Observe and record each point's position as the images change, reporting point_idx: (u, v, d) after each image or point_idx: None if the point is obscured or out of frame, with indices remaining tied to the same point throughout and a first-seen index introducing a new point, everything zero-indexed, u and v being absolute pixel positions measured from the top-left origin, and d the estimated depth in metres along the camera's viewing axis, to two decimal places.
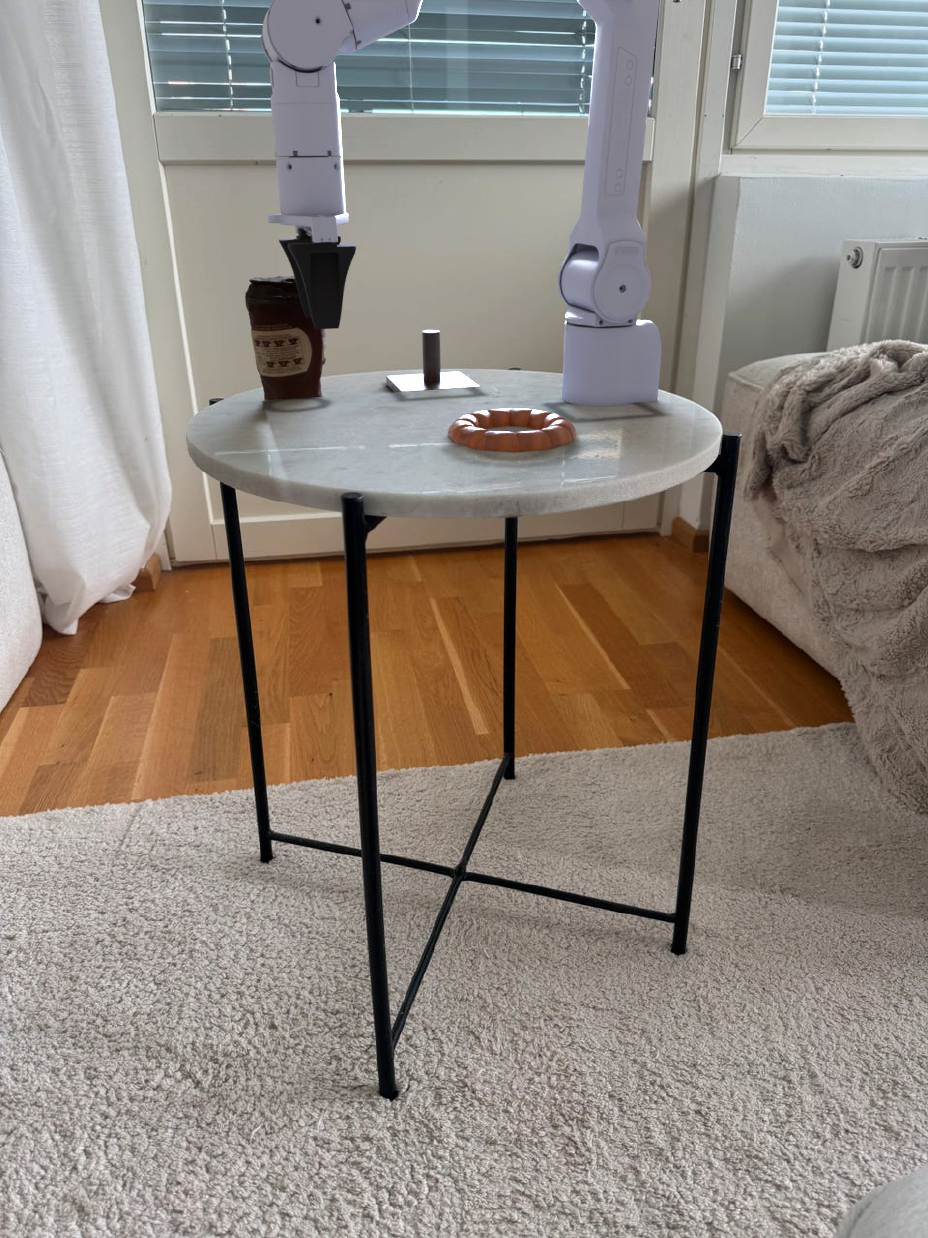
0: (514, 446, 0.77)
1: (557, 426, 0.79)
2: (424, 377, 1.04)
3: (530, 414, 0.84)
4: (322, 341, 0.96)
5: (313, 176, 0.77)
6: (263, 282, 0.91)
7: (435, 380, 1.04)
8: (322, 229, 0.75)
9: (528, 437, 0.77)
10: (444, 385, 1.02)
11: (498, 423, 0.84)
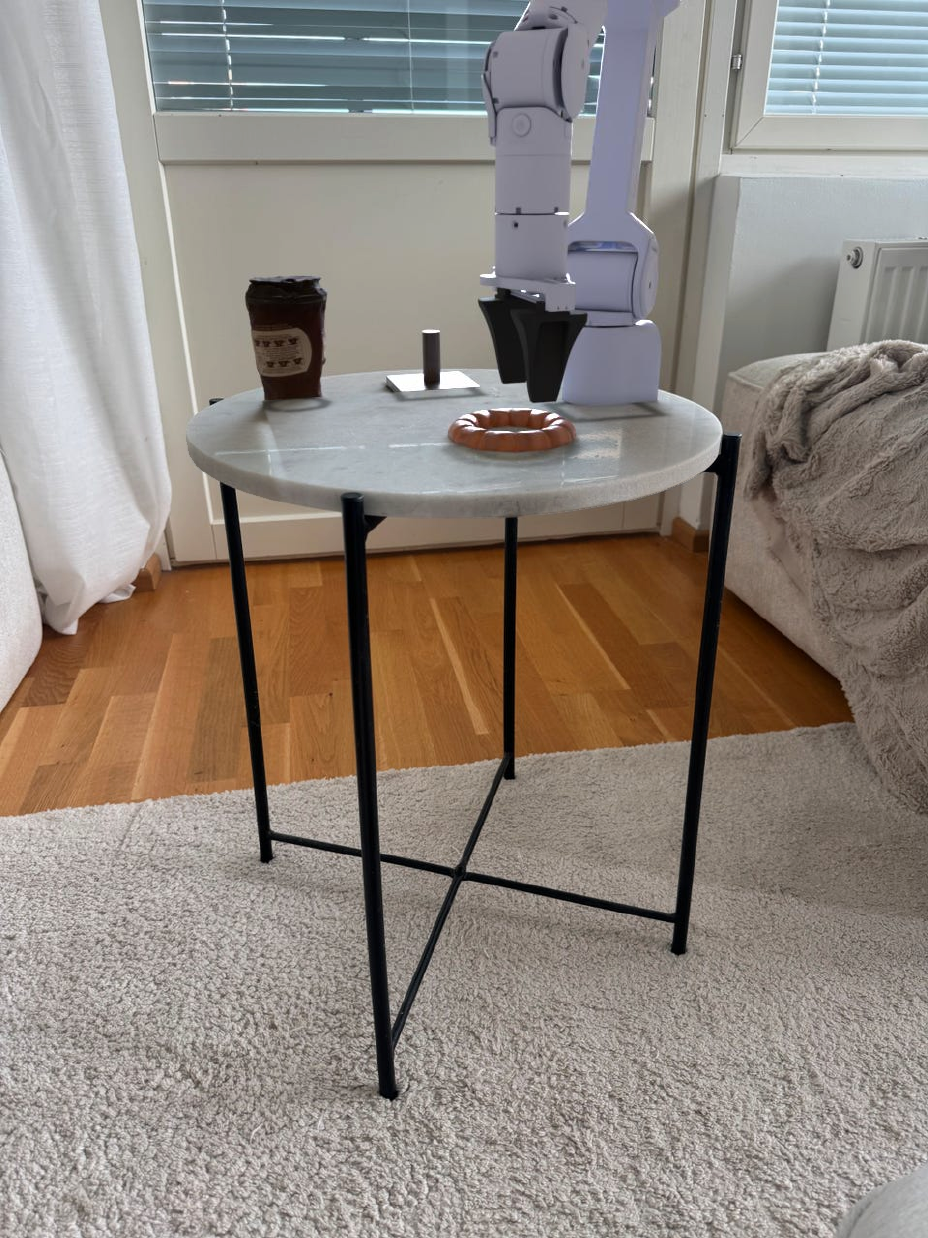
0: (514, 446, 0.77)
1: (557, 426, 0.79)
2: (424, 377, 1.04)
3: (530, 414, 0.84)
4: (322, 341, 0.96)
5: (542, 235, 0.68)
6: (263, 282, 0.91)
7: (435, 380, 1.04)
8: (560, 297, 0.66)
9: (528, 437, 0.77)
10: (444, 385, 1.02)
11: (498, 423, 0.84)
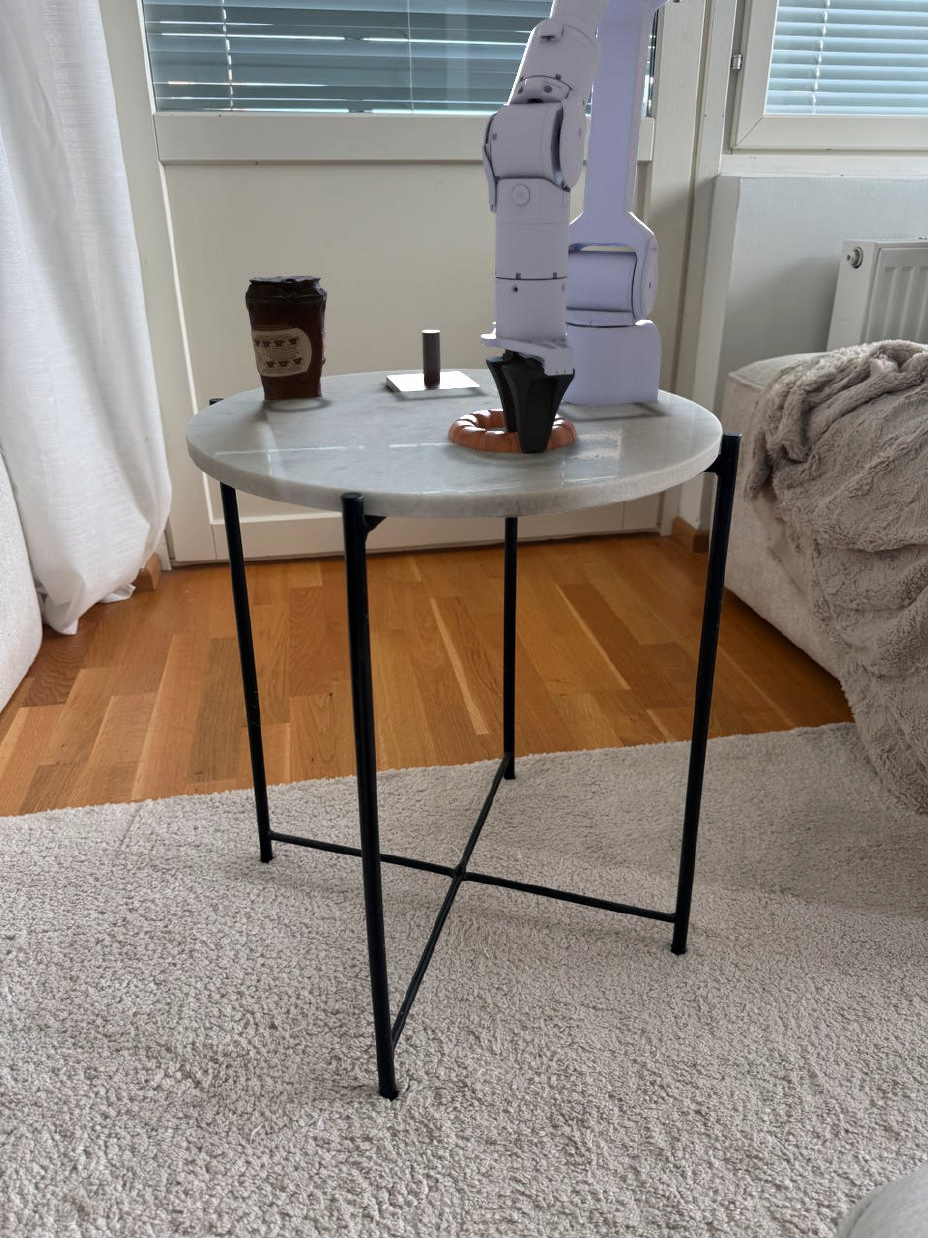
0: (514, 446, 0.77)
1: (557, 426, 0.79)
2: (424, 377, 1.04)
3: None
4: (322, 341, 0.96)
5: (541, 299, 0.70)
6: (263, 282, 0.91)
7: (435, 380, 1.04)
8: (558, 361, 0.68)
9: None
10: (444, 385, 1.02)
11: (498, 423, 0.84)
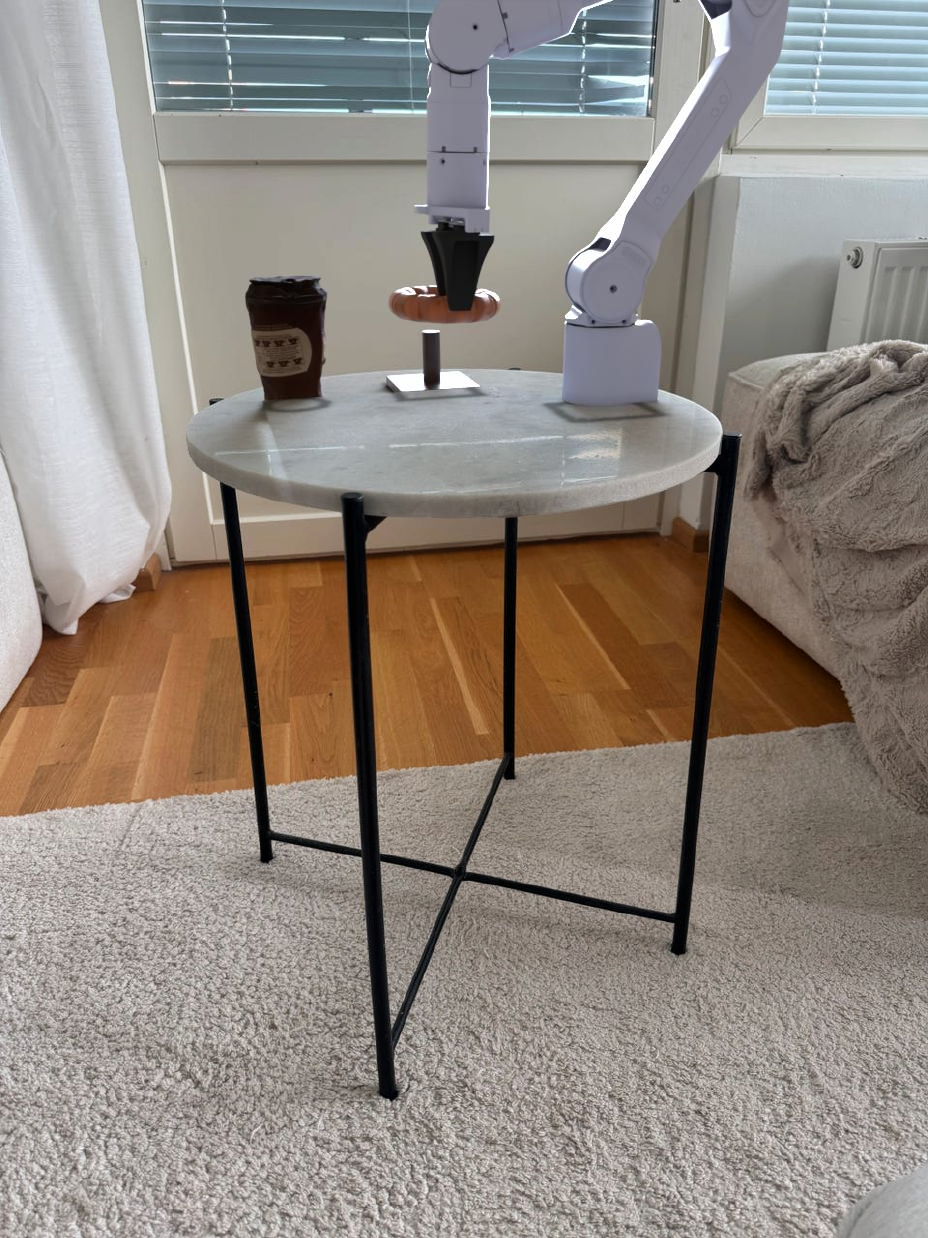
0: (443, 306, 0.89)
1: (482, 294, 0.91)
2: (424, 377, 1.04)
3: None
4: (322, 341, 0.96)
5: (465, 170, 0.82)
6: (263, 282, 0.91)
7: (435, 380, 1.04)
8: (476, 220, 0.80)
9: None
10: (444, 385, 1.02)
11: None
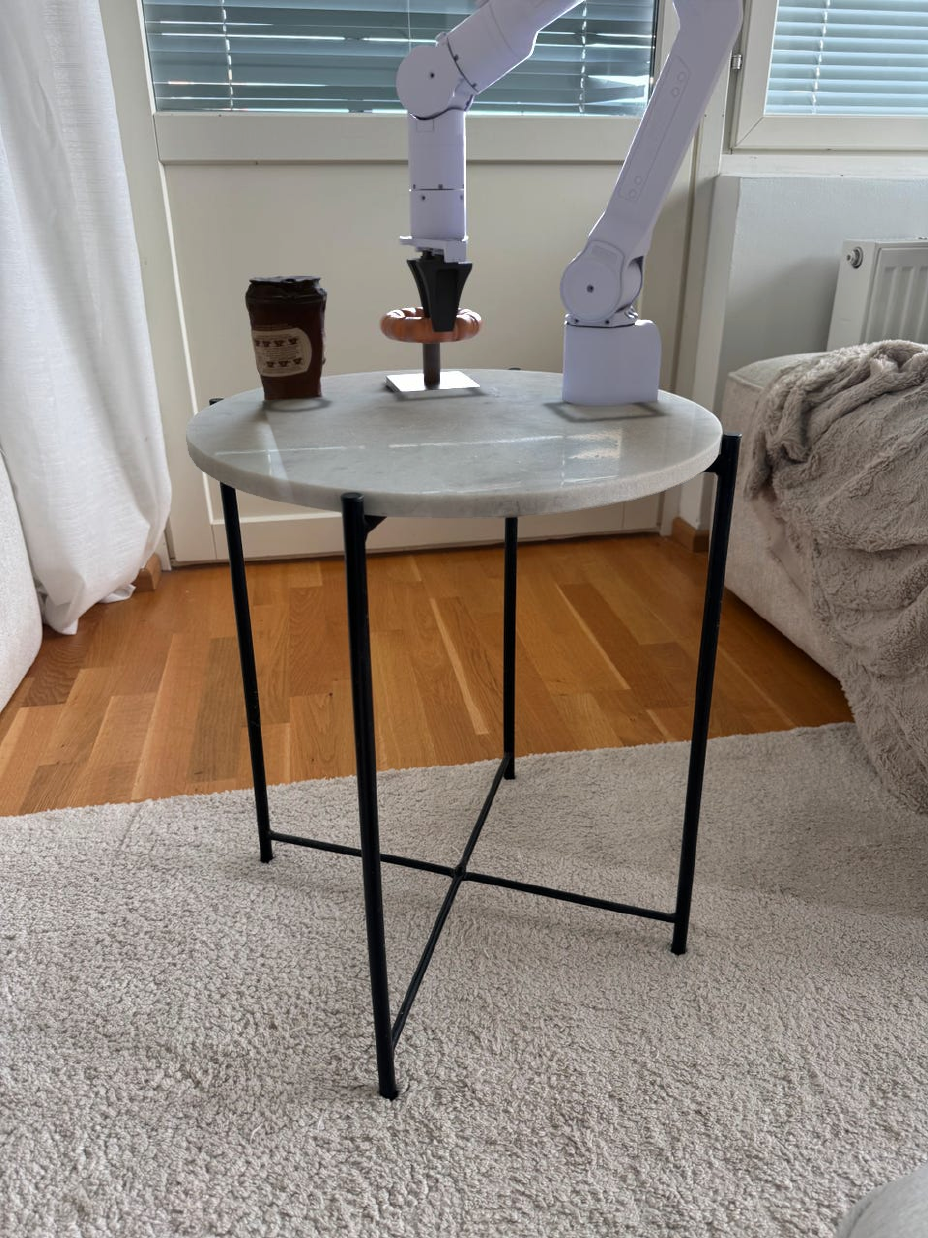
0: (427, 328, 0.97)
1: (464, 315, 0.99)
2: (424, 377, 1.04)
3: None
4: (322, 341, 0.96)
5: (443, 205, 0.91)
6: (263, 282, 0.91)
7: (435, 380, 1.04)
8: (454, 251, 0.88)
9: None
10: (444, 385, 1.02)
11: (422, 318, 1.05)
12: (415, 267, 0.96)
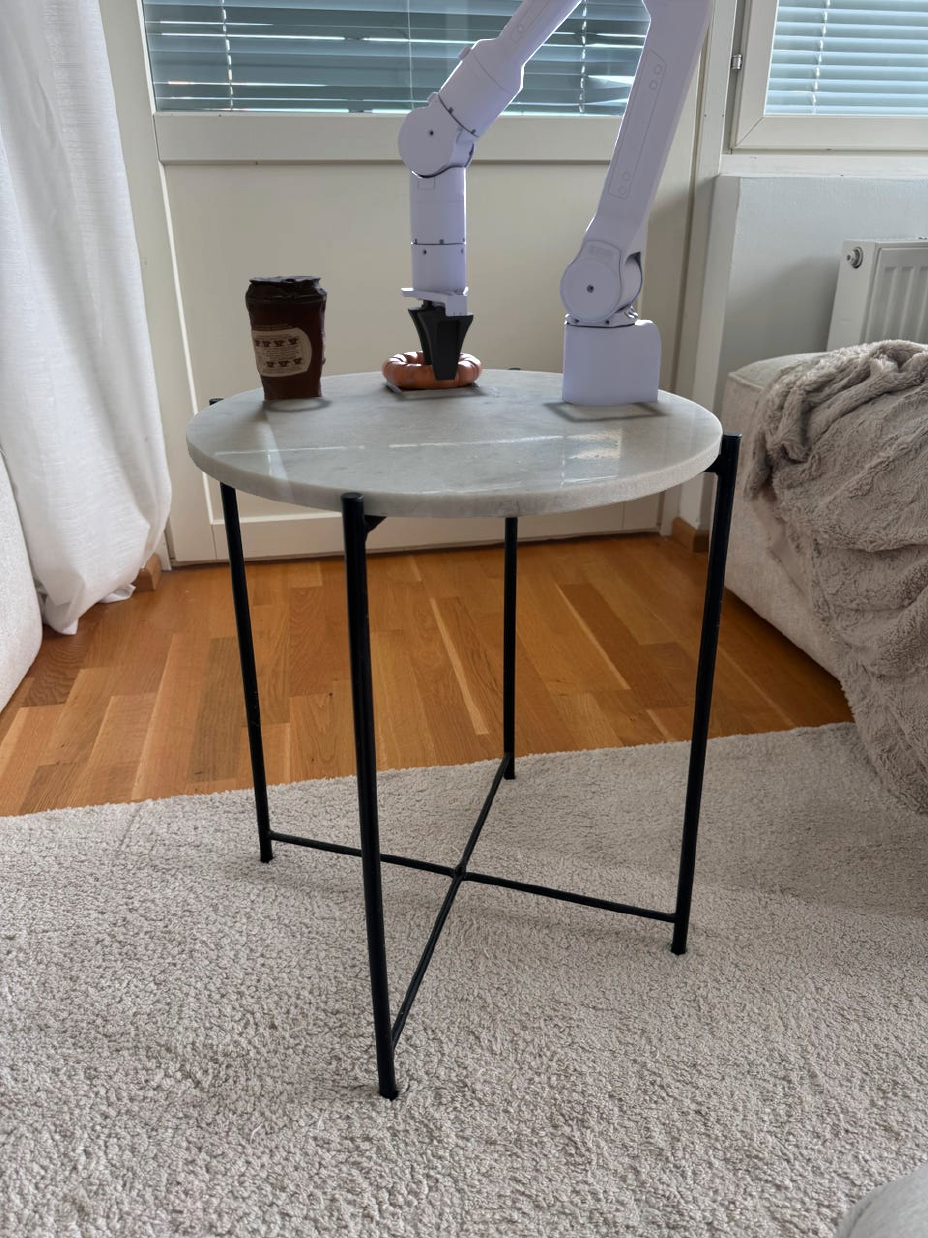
0: (428, 375, 0.99)
1: (464, 361, 1.01)
2: None
3: None
4: (322, 341, 0.96)
5: (444, 259, 0.93)
6: (263, 282, 0.91)
7: None
8: (455, 305, 0.91)
9: None
10: None
11: None
12: (416, 316, 0.99)
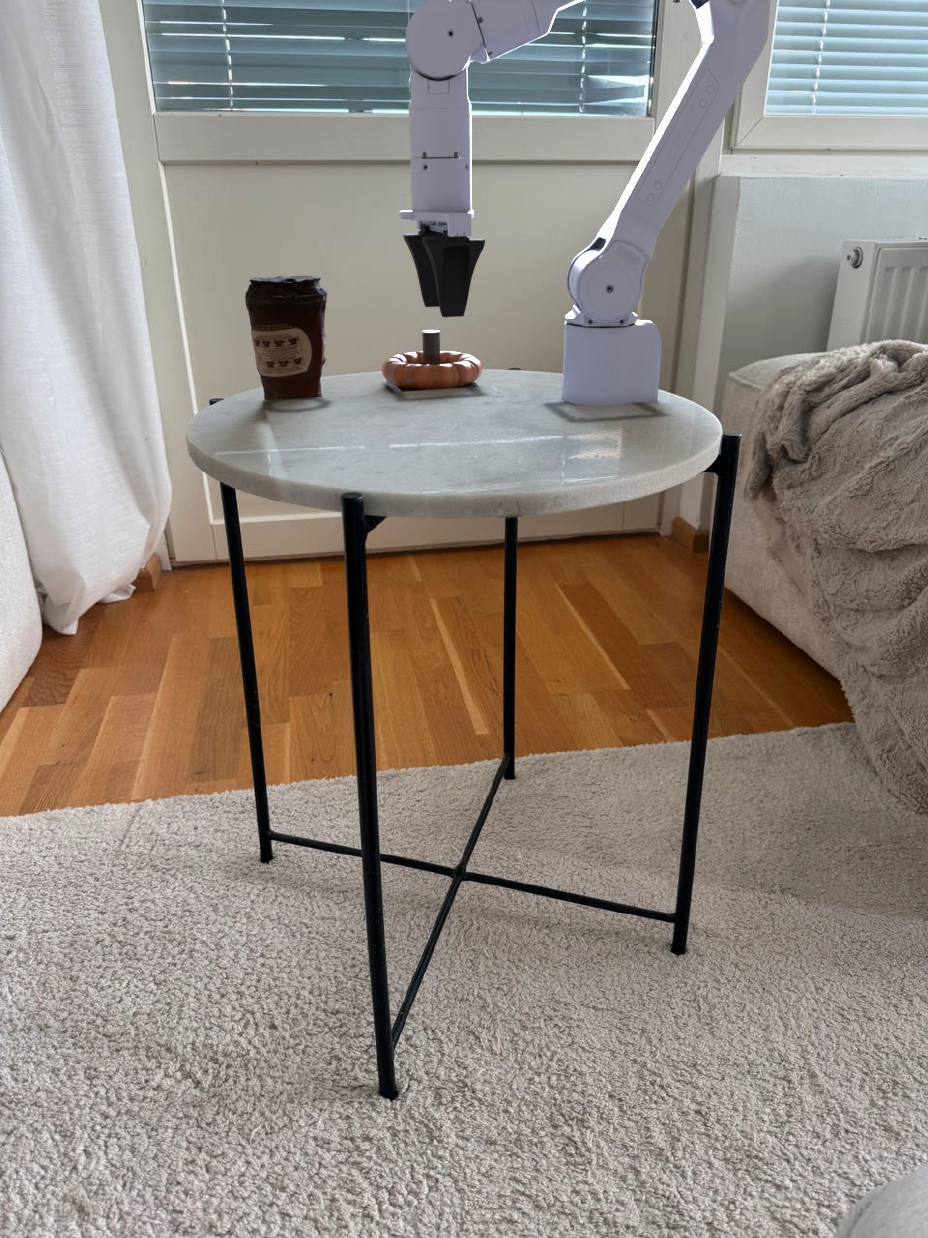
0: (428, 375, 0.99)
1: (464, 361, 1.01)
2: None
3: (448, 355, 1.07)
4: (322, 341, 0.96)
5: (447, 175, 0.83)
6: (263, 282, 0.91)
7: None
8: (458, 224, 0.81)
9: (440, 368, 0.99)
10: None
11: None
12: (412, 242, 0.91)
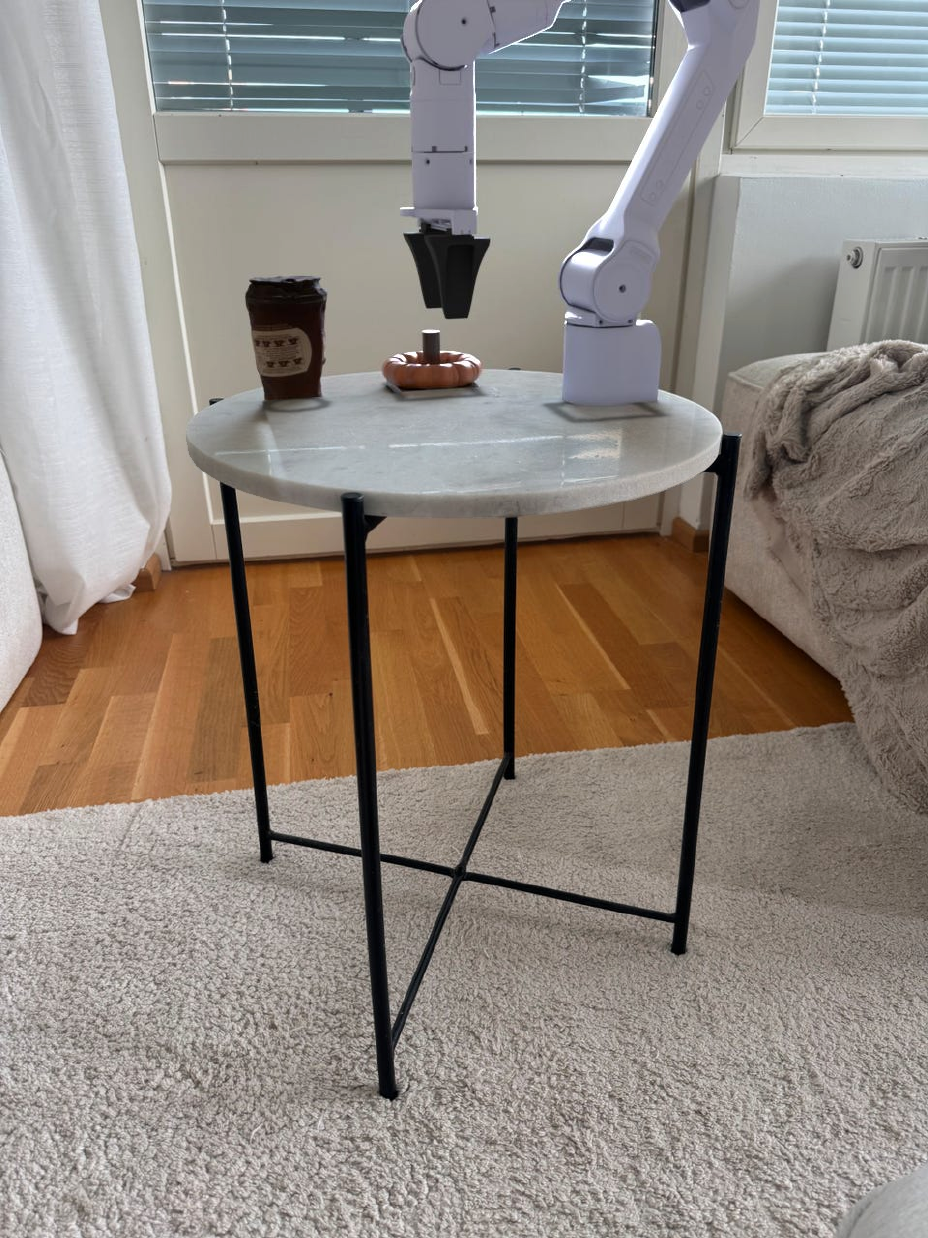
0: (428, 375, 0.99)
1: (464, 361, 1.01)
2: None
3: (448, 355, 1.07)
4: (322, 341, 0.96)
5: (450, 170, 0.79)
6: (263, 282, 0.91)
7: None
8: (463, 222, 0.77)
9: (440, 368, 0.99)
10: None
11: None
12: (413, 241, 0.87)
